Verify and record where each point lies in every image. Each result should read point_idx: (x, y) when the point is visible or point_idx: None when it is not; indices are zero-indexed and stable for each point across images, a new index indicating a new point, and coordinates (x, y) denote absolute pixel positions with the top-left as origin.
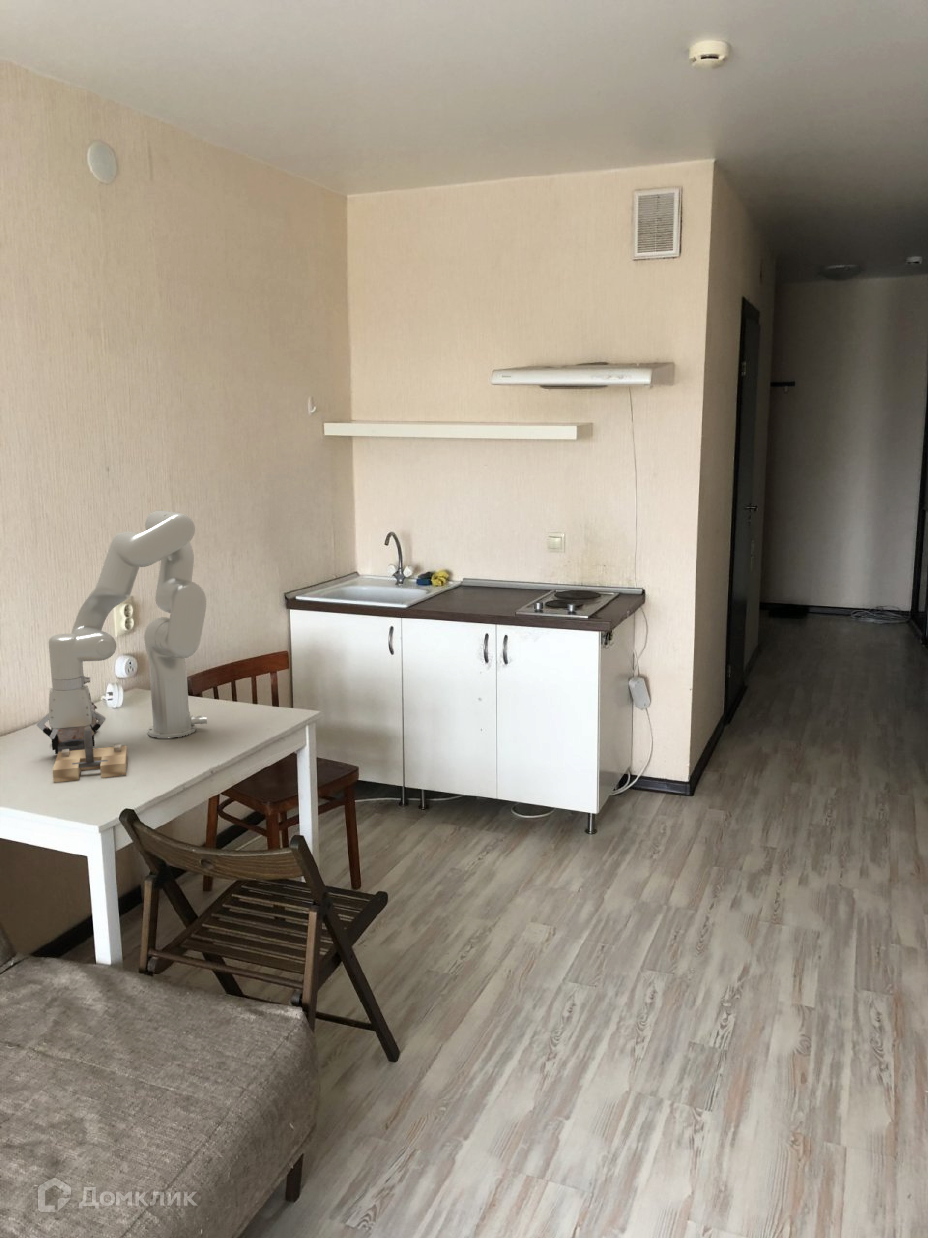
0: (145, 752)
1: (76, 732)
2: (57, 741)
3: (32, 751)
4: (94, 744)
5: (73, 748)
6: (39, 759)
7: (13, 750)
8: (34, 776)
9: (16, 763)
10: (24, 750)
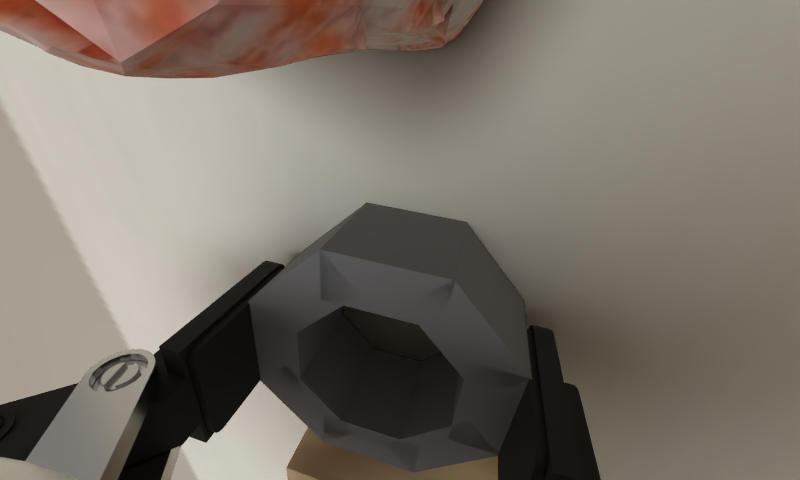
0: None
1: (409, 39)
2: (231, 407)
3: (99, 77)
4: (572, 390)
5: (378, 451)
6: (207, 283)
7: None
8: (250, 463)
9: (116, 284)
10: None
